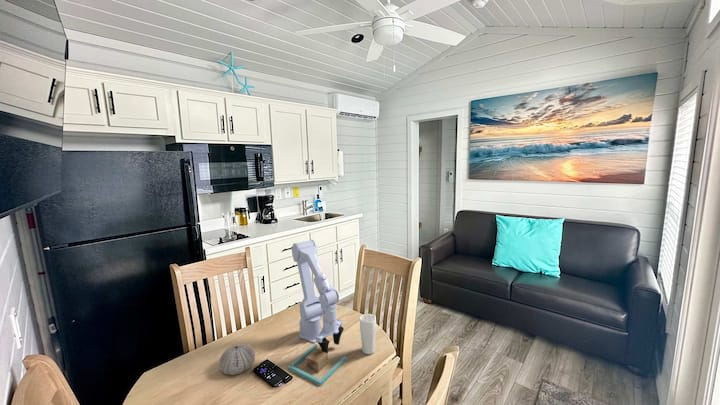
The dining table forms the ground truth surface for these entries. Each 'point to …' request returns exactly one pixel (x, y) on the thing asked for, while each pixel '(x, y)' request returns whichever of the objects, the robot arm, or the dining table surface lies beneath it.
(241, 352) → the sea urchin shell
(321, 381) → the frame
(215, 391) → the dining table surface
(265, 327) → the dining table surface
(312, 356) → the walnut block
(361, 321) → the white cup
